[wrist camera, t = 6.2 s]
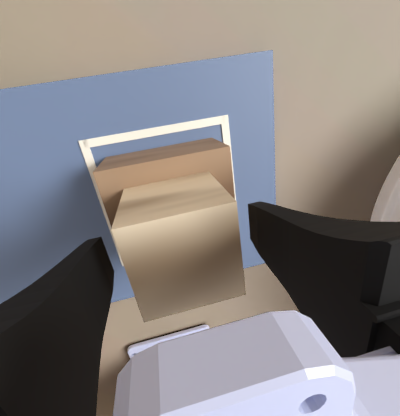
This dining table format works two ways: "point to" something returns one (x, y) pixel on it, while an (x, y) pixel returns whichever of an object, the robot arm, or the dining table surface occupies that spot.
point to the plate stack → (389, 197)
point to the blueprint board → (122, 152)
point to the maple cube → (179, 244)
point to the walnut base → (162, 168)
